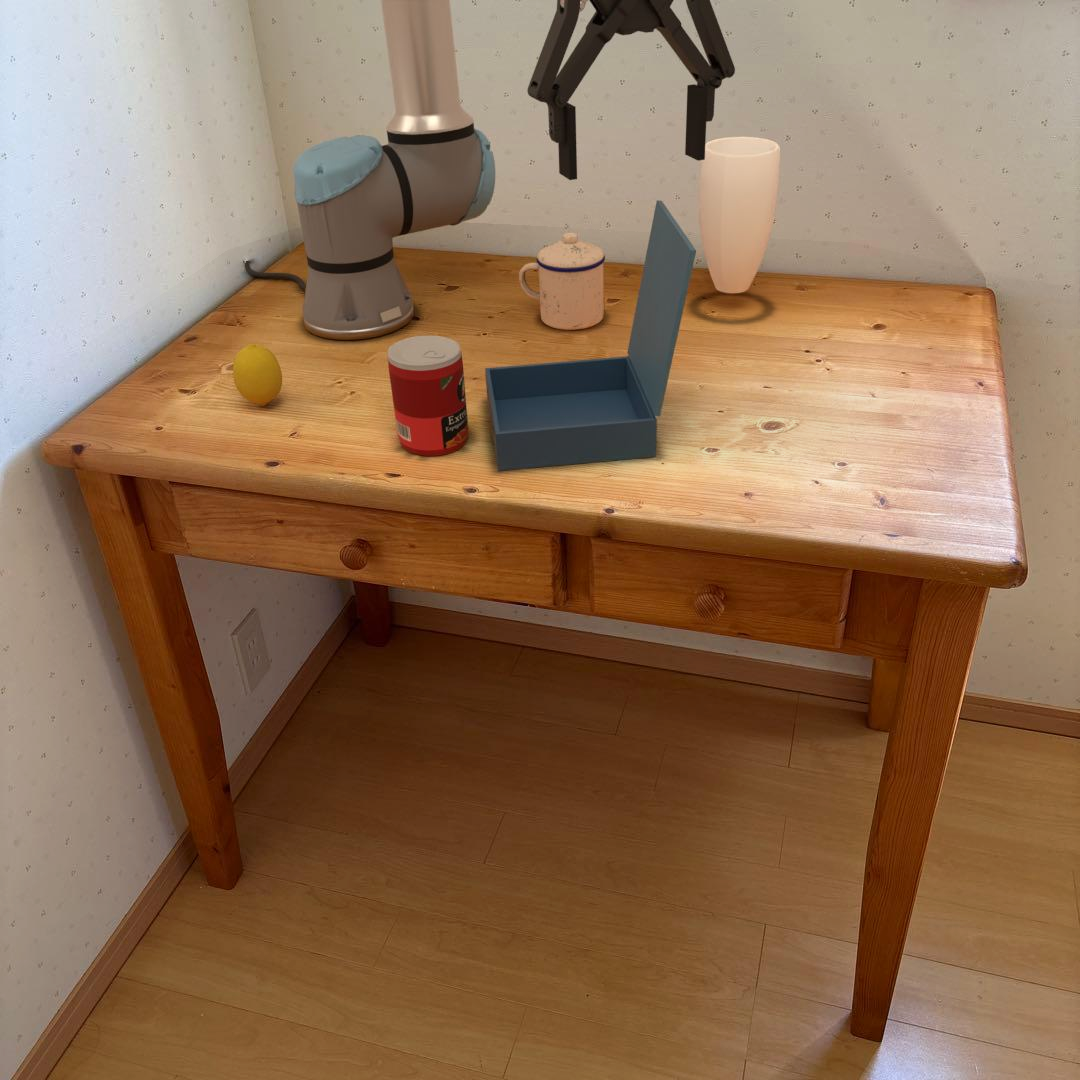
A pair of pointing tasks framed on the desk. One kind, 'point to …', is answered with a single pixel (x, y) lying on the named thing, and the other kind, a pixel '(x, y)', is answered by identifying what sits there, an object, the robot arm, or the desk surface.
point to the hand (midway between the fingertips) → (632, 166)
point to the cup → (737, 207)
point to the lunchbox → (569, 413)
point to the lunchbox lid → (660, 304)
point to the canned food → (428, 394)
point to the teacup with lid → (568, 283)
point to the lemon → (257, 374)
